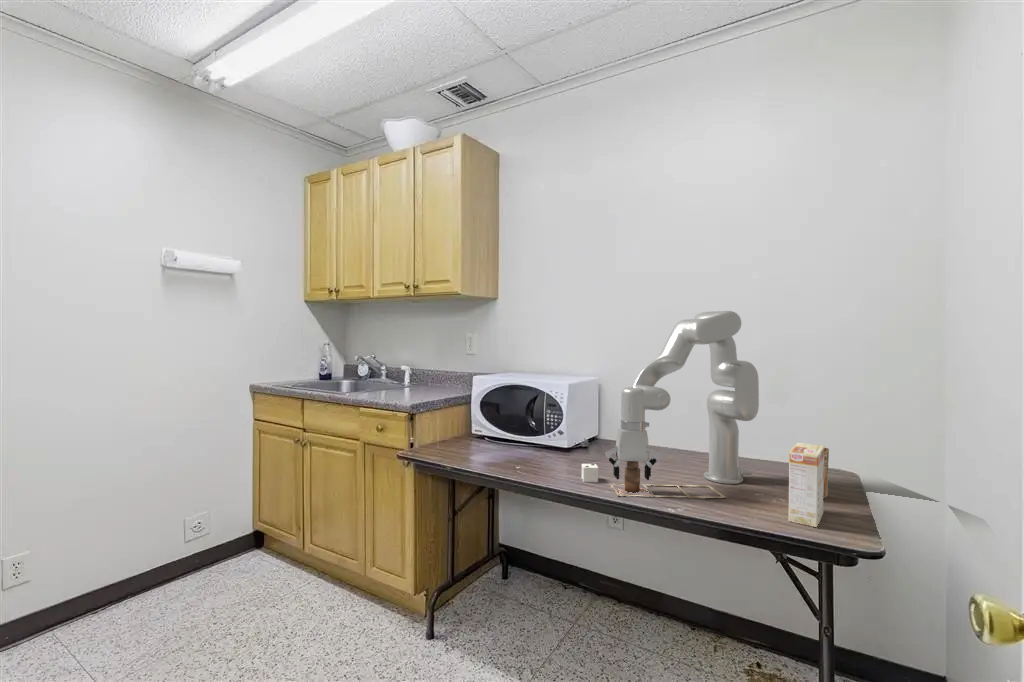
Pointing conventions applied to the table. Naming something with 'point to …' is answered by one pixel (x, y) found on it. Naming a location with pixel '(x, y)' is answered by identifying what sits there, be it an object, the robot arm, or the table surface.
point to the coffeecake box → (806, 484)
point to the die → (590, 472)
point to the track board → (668, 496)
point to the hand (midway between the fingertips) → (631, 478)
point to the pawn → (632, 477)
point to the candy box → (825, 471)
